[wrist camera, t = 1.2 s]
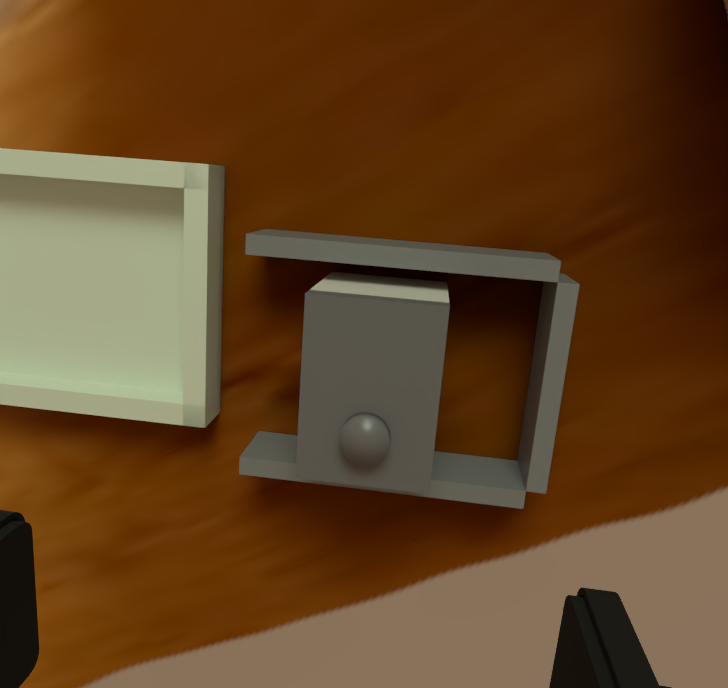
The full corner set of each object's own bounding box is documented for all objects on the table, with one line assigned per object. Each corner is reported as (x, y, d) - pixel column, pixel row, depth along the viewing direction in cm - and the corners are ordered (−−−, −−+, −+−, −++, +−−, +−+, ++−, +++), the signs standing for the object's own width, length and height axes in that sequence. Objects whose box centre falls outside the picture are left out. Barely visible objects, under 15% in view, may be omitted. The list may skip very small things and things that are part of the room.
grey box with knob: (446, 281, 27) (450, 310, 21) (430, 433, 29) (428, 502, 23) (332, 271, 28) (301, 296, 21) (323, 421, 29) (291, 485, 23)
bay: (567, 254, 26) (583, 262, 23) (532, 479, 29) (543, 511, 26) (266, 229, 27) (246, 233, 25) (258, 446, 30) (239, 474, 27)
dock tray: (225, 165, 27) (208, 164, 25) (219, 412, 30) (204, 428, 28) (-63, 143, 28) (-100, 140, 26) (-42, 382, 31) (-74, 395, 29)
